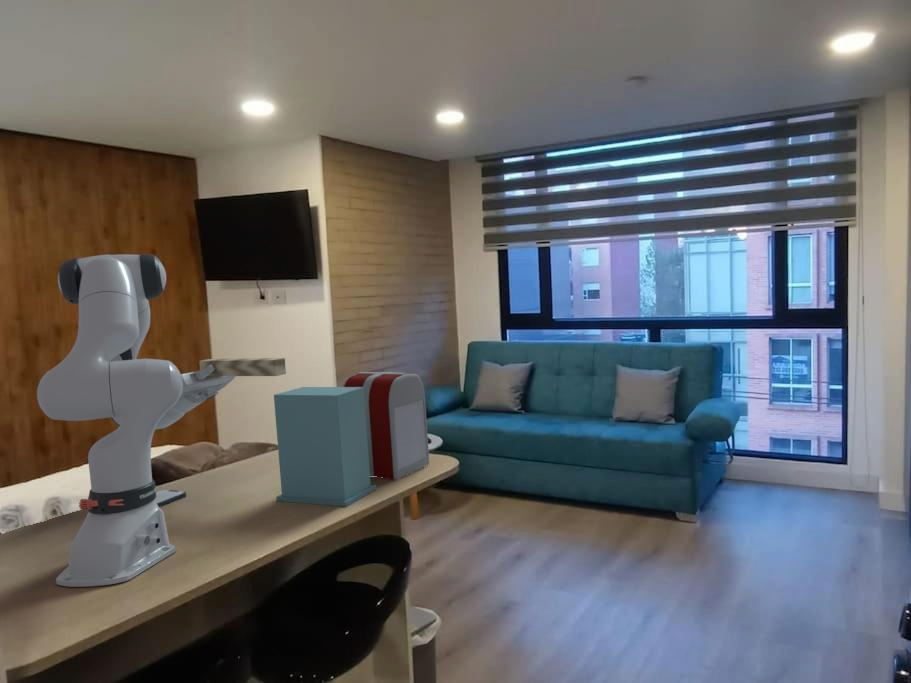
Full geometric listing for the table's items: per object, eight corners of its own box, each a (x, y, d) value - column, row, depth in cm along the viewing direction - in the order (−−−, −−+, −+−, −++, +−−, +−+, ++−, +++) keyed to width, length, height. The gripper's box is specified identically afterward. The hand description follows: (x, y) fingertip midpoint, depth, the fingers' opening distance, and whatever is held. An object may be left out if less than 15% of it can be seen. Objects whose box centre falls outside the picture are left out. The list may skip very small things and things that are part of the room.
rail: (286, 373, 179) (284, 358, 178) (276, 376, 175) (274, 360, 175) (211, 373, 188) (210, 358, 188) (200, 376, 184) (199, 360, 184)
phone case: (136, 518, 167) (189, 497, 181) (135, 512, 167) (188, 491, 181) (111, 515, 171) (164, 494, 185) (110, 509, 171) (163, 488, 185)
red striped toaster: (396, 480, 185) (389, 377, 182) (344, 474, 194) (337, 376, 192) (431, 464, 199) (425, 369, 196) (381, 459, 208) (374, 368, 206)
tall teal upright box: (376, 489, 178) (369, 386, 175) (346, 506, 165) (338, 396, 162) (309, 484, 185) (301, 386, 183) (276, 500, 173) (267, 395, 170)
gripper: (152, 387, 180) (186, 360, 175) (209, 375, 199) (241, 350, 194) (163, 409, 179) (198, 382, 174) (219, 395, 198) (252, 370, 193)
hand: (221, 365), depth 184 cm, fingers closed on rail, 4 cm apart
